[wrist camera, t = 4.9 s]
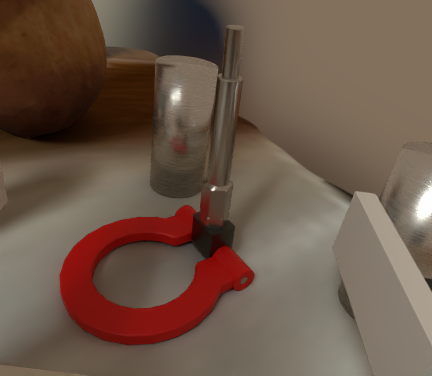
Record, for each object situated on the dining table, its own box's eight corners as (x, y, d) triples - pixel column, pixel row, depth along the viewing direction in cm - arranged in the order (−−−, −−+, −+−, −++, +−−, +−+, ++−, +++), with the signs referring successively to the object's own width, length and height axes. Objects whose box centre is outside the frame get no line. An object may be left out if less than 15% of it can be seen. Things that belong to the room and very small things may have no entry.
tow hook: (94, 385, 15) (264, 297, 20) (42, 76, 8) (325, 52, 13) (44, 258, 21) (186, 212, 26) (-12, 8, 14) (199, 8, 18)
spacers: (-136, 238, 20) (-219, 67, 15) (157, 146, 33) (163, 41, 28) (129, 821, 8) (144, 908, 3) (421, 305, 21) (509, 169, 16)
